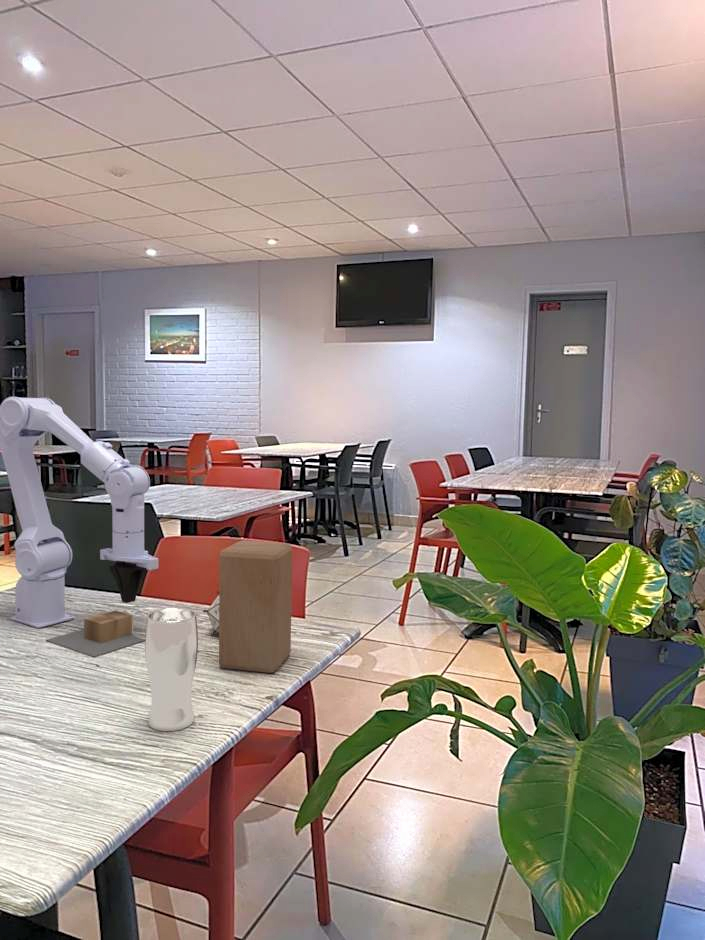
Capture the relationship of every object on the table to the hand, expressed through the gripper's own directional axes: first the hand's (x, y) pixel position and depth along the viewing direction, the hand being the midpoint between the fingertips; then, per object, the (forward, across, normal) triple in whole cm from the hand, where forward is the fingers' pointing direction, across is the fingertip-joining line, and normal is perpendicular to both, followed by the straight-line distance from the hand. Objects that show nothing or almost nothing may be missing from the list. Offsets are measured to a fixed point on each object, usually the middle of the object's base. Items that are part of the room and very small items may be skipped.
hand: (128, 601), depth 133 cm
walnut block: (+4, 0, +1) cm, 4 cm away
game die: (+6, -16, -10) cm, 20 cm away
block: (+6, -30, -2) cm, 31 cm away
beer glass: (+6, -36, +22) cm, 42 cm away
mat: (+6, 0, +7) cm, 9 cm away
